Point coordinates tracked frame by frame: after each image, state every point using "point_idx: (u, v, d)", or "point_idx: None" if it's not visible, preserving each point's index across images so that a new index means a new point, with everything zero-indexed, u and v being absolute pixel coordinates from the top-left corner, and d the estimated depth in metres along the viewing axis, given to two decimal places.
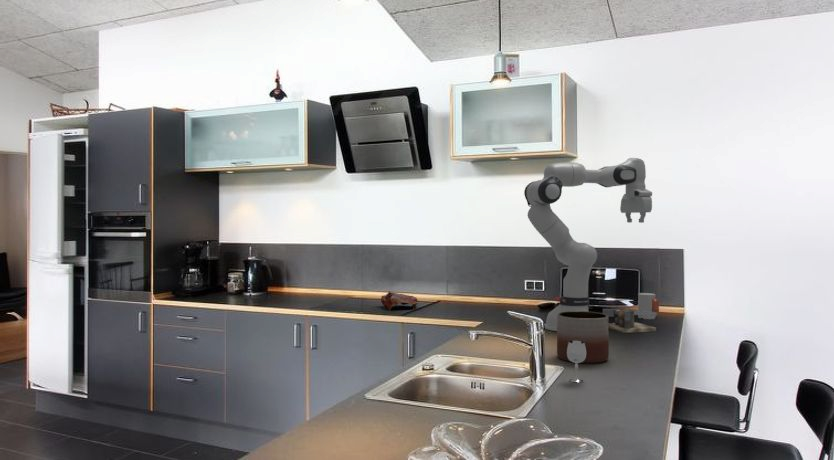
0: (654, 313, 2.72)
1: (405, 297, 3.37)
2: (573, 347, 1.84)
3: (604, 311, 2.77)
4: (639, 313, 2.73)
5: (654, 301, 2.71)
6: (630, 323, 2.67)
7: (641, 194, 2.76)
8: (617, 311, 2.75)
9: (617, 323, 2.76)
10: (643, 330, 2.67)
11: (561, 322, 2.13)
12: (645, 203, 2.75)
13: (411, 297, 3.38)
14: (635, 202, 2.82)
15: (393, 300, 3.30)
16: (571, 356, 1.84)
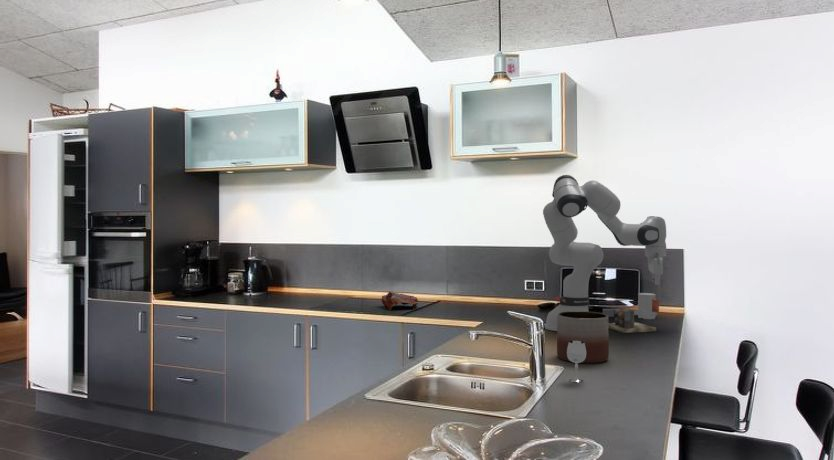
0: (654, 313, 2.72)
1: (405, 297, 3.37)
2: (573, 347, 1.84)
3: (604, 311, 2.77)
4: (639, 313, 2.73)
5: (654, 301, 2.71)
6: (630, 323, 2.67)
7: None
8: (617, 311, 2.75)
9: (617, 323, 2.76)
10: (643, 330, 2.67)
11: (561, 322, 2.13)
12: None
13: (411, 297, 3.38)
14: None
15: (393, 300, 3.31)
16: (571, 356, 1.84)
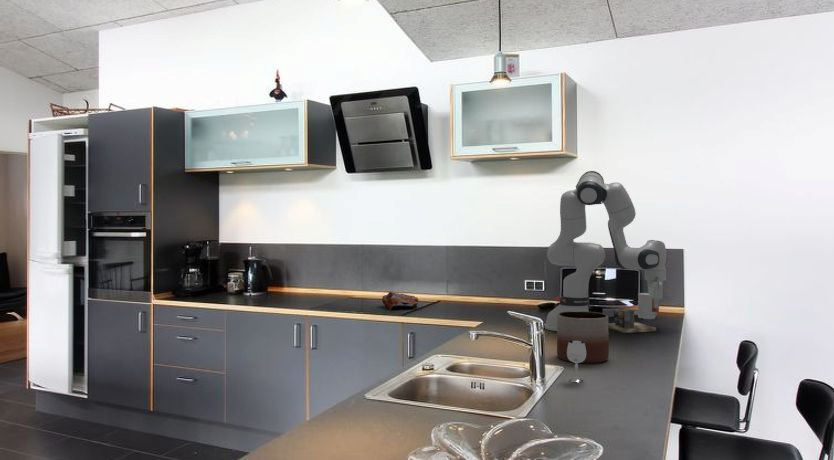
0: (654, 313, 2.72)
1: (406, 297, 3.37)
2: (573, 347, 1.84)
3: (604, 311, 2.77)
4: (639, 313, 2.73)
5: None
6: (630, 323, 2.67)
7: None
8: (617, 311, 2.75)
9: (617, 323, 2.76)
10: (643, 330, 2.67)
11: (561, 322, 2.13)
12: None
13: (412, 297, 3.39)
14: None
15: (393, 300, 3.31)
16: (571, 356, 1.84)
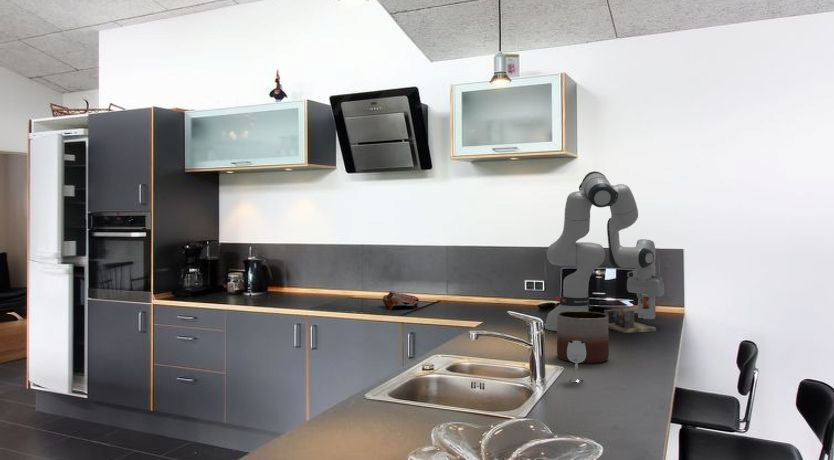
0: (646, 310, 2.81)
1: (406, 297, 3.38)
2: (573, 347, 1.84)
3: (609, 312, 2.73)
4: (635, 311, 2.79)
5: (647, 298, 2.81)
6: (630, 323, 2.67)
7: None
8: None
9: (617, 323, 2.76)
10: (643, 330, 2.67)
11: (561, 322, 2.13)
12: None
13: (412, 297, 3.39)
14: None
15: (394, 300, 3.32)
16: (571, 356, 1.84)
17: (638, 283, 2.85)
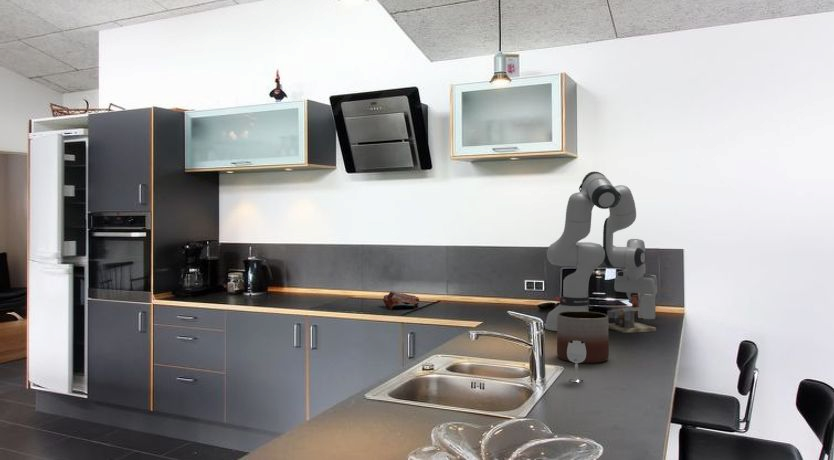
0: (637, 308, 2.86)
1: (406, 297, 3.38)
2: (573, 347, 1.84)
3: (614, 313, 2.72)
4: None
5: (637, 297, 2.86)
6: (630, 323, 2.67)
7: None
8: None
9: (617, 323, 2.76)
10: (643, 330, 2.67)
11: (561, 322, 2.13)
12: None
13: (413, 297, 3.39)
14: None
15: (394, 300, 3.32)
16: (571, 356, 1.84)
17: (628, 282, 2.88)
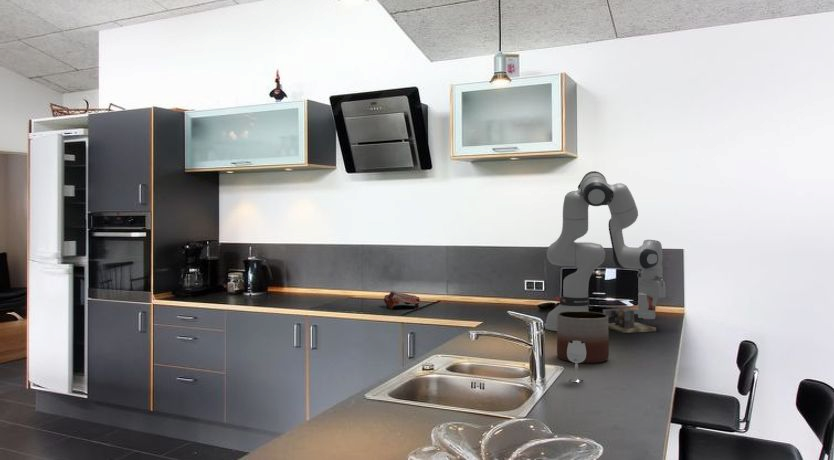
0: (651, 311, 2.77)
1: (407, 297, 3.39)
2: (573, 347, 1.84)
3: (606, 312, 2.75)
4: (638, 312, 2.76)
5: (652, 300, 2.76)
6: (630, 323, 2.67)
7: None
8: (619, 311, 2.74)
9: (617, 323, 2.76)
10: (643, 330, 2.67)
11: (561, 322, 2.13)
12: None
13: (413, 297, 3.40)
14: None
15: (394, 299, 3.33)
16: (571, 356, 1.84)
17: (646, 284, 2.80)
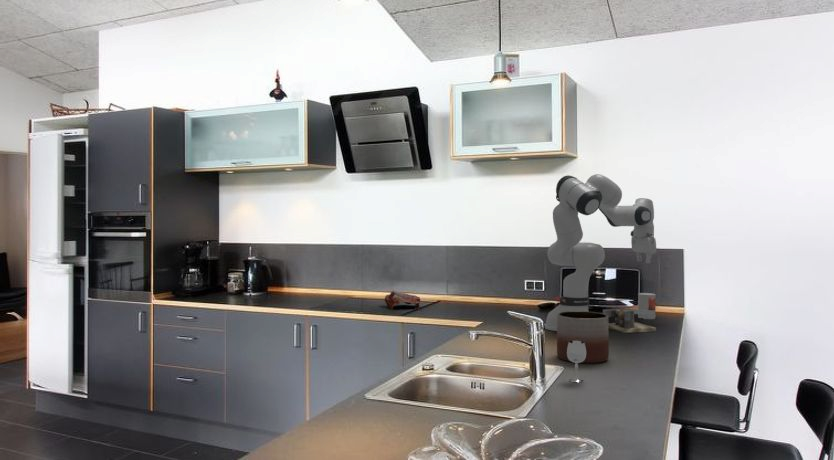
0: (651, 311, 2.77)
1: (408, 296, 3.39)
2: (573, 347, 1.84)
3: (606, 312, 2.75)
4: (638, 312, 2.76)
5: (652, 300, 2.76)
6: (630, 323, 2.67)
7: None
8: (619, 311, 2.74)
9: (617, 323, 2.76)
10: (643, 330, 2.67)
11: (561, 322, 2.13)
12: None
13: (414, 297, 3.40)
14: None
15: (395, 299, 3.33)
16: (571, 356, 1.84)
17: (638, 242, 2.89)
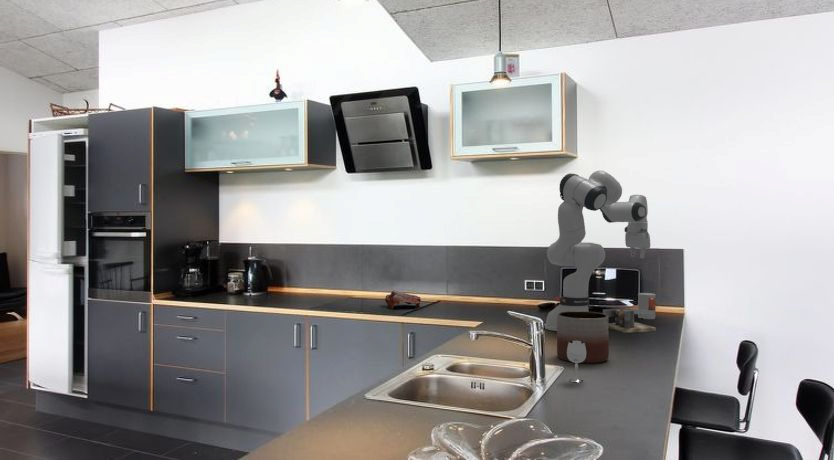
0: (651, 311, 2.77)
1: (408, 296, 3.39)
2: (573, 347, 1.84)
3: (606, 312, 2.75)
4: (638, 312, 2.76)
5: (652, 300, 2.76)
6: (630, 323, 2.67)
7: None
8: (619, 311, 2.74)
9: (617, 323, 2.76)
10: (643, 330, 2.67)
11: (561, 322, 2.13)
12: None
13: (414, 296, 3.40)
14: None
15: (395, 299, 3.33)
16: (571, 356, 1.84)
17: (632, 237, 2.95)
